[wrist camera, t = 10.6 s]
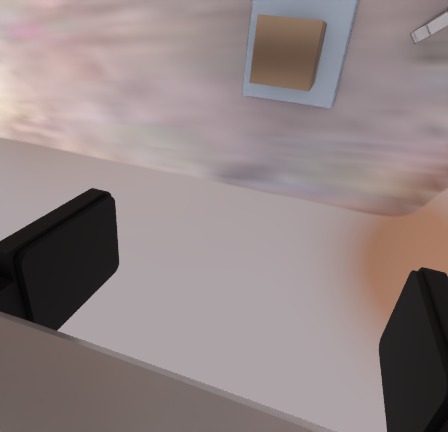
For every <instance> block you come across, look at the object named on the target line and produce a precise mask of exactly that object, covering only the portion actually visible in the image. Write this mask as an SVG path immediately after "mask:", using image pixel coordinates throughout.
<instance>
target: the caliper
mask: <svg viewBox="0 0 448 432" xmlns="http://www.w3.org/2000/svg"><path fill="white" fill-rule="evenodd" d="M447 25H448V10H447V11H446V12H444V13H443V14H441V15H439V16H438V17H436V18H435V19H433V20H431V21H430V22H428V23H427V24H425V25H424V26H422V27H420V28H419V29H417V30H416V31H414V32H412V33H411V36H412V38H413V40H414V43H417V42H419V41H421V40H422V39H424V38H426V37H428V36H429V35H432V34H434V33H435V32H437V31H439V30H440V29H442V28H444V27H446V26H447Z"/></svg>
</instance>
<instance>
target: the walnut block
mask: <svg viewBox="0 0 448 432" xmlns="http://www.w3.org/2000/svg"><path fill="white" fill-rule="evenodd" d="M326 27H327V23H326V22H325V21H323V20H313V19H302V18H292V17H282V16H271V15H261V14H258V16H257V24H256V32H255V40H254V48H253V57H252V65H251V73H250V81H249V83H254V84H261V85H268V86H275V87H282V88H289V89H296V90H303V91H310V89H311V88H312V86H313V85H314V84H315V80H316V75H317V70H318V65H319V61H320V56H321V51H322V46H323V42H324V37H325V32H326Z"/></svg>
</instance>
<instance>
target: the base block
mask: <svg viewBox="0 0 448 432" xmlns="http://www.w3.org/2000/svg"><path fill="white" fill-rule="evenodd" d="M358 1H359V0H253V2H252V11H251V20H250V29H249V37H248V46H247V55H246V64H245V73H244V82H243V90H242V95H246V96H252V97H259V98H266V99H272V100H279V101H285V102H292V103H299V104H305V105H312V106H318V107H325V108H331V106H333V105H334V101H335V97H336V93H337V89H338V85H339V80H340V76H341V72H342V68H343V64H344V60H345V55H346V51H347V47H348V43H349V39H350V35H351V30H352V26H353V22H354V18H355V14H356V10H357V6H358ZM258 14H261V15H271V16H282V17H292V18H302V19H313V20H323V21H325V22H326V23H327V27H326V32H325V37H324V42H323V46H322V51H321V56H320V61H319V65H318V70H317V75H316V80H315V84H314V85H313V86H312V88H311V89H310V91H303V90H296V89H289V88H282V87H275V86H268V85H261V84H254V83H249V81H250V73H251V65H252V57H253V48H254V40H255V32H256V24H257V16H258Z"/></svg>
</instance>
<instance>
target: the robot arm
mask: <svg viewBox="0 0 448 432" xmlns="http://www.w3.org/2000/svg"><path fill="white" fill-rule="evenodd" d="M118 254H119V253H118V239H117V223H116V208H115V200H114V198H113V197H111V194H110V193H109V192H107V191H103V190H98V189H94V188H92V189H89V190H88V191H86V192H84V193H82V194H81V195H79V196H77V197H76V198H74V199H72V200H70V201H69V202H67V203H65V204H63V205H62V206H60V207H58V208H57V209H55V210H53V211H51V212H50V213H48V214H46V215H45V216H43V217H41V218H39V219H38V220H36V221H34V222H32V223H31V224H29V225H27V226H26V227H24V228H22V229H20V230H19V231H17V232H15V233H13V234H12V235H10V236H8V237H7V238H5V239H3V240H1V241H0V432H335V431H332V430H330V429H327V428H325V427H322V426H320V425H317V424H314V423H312V422H309V421H306V420H303V419H301V418H298V417H295V416H293V415H290V414H287V413H284V412H282V411H279V410H276V409H273V408H270V407H268V406H265V405H262V404H259V403H257V402H254V401H251V400H249V399H246V398H243V397H240V396H237V395H235V394H232V393H229V392H227V391H224V390H221V389H218V388H216V387H213V386H210V385H207V384H205V383H202V382H199V381H196V380H193V379H190V378H188V377H185V376H182V375H179V374H177V373H174V372H171V371H168V370H166V369H163V368H160V367H157V366H154V365H152V364H149V363H146V362H143V361H140V360H138V359H134V358H132V357H129V356H126V355H124V354H121V353H118V352H115V351H112V350H110V349H107V348H104V347H101V346H98V345H95V344H92V343H90V342H87V341H84V340H81V339H78V338H75V337H73V336H70V335H67V334H64V333H61V332H58V331H57V330H58V329H59V328H60V327H61V326H62V325H63V324H64V323H65V322H66V321H67V320H68V319H69V318H70V317H71V316H72V315H73V314H74V313H75V312H76V311H77V310H78V309H79V308H80V307H81V306H82V305H83V304H84V303H85V302H86V301H87V300H88V299H89V298H90V297H91V296H92V295H93V294H94V293H95V292H96V291H97V290H98V289H99V288H100V287H101V286H102V285H103V284H104V283H105V282H106V281H107V280H108V279H109V278H110V277H111V276H112V275H113V274H114V273H115V272H116V270H117V268H118V265H119V255H118ZM379 356H380V366H381V375H382V386H383V395H384V404H385V414H386V423H387V432H448V276H447V274H446V273H444V272H440V271H436V270H432V269H428V268H423V267H422V268H420V269H419V270H418V271H414V270H413V271H411V273H410V274H409V277H408V279H407V281H406V283H405V285H404V288H403V290H402V292H401V295H400V297H399V299H398V301H397V303H396V306H395V308H394V310H393V312H392V314H391V317H390V319H389V321H388V323H387V325H386V328H385V330H384V332H383V334H382V337H381V339H380V343H379Z"/></svg>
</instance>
